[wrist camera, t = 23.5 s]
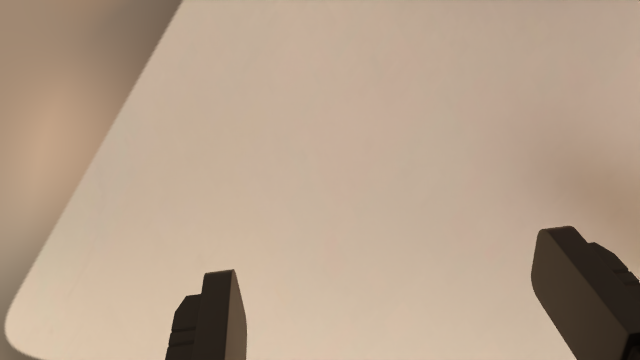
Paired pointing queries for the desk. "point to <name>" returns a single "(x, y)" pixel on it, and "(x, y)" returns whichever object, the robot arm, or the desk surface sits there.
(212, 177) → the desk surface
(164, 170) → the desk surface
